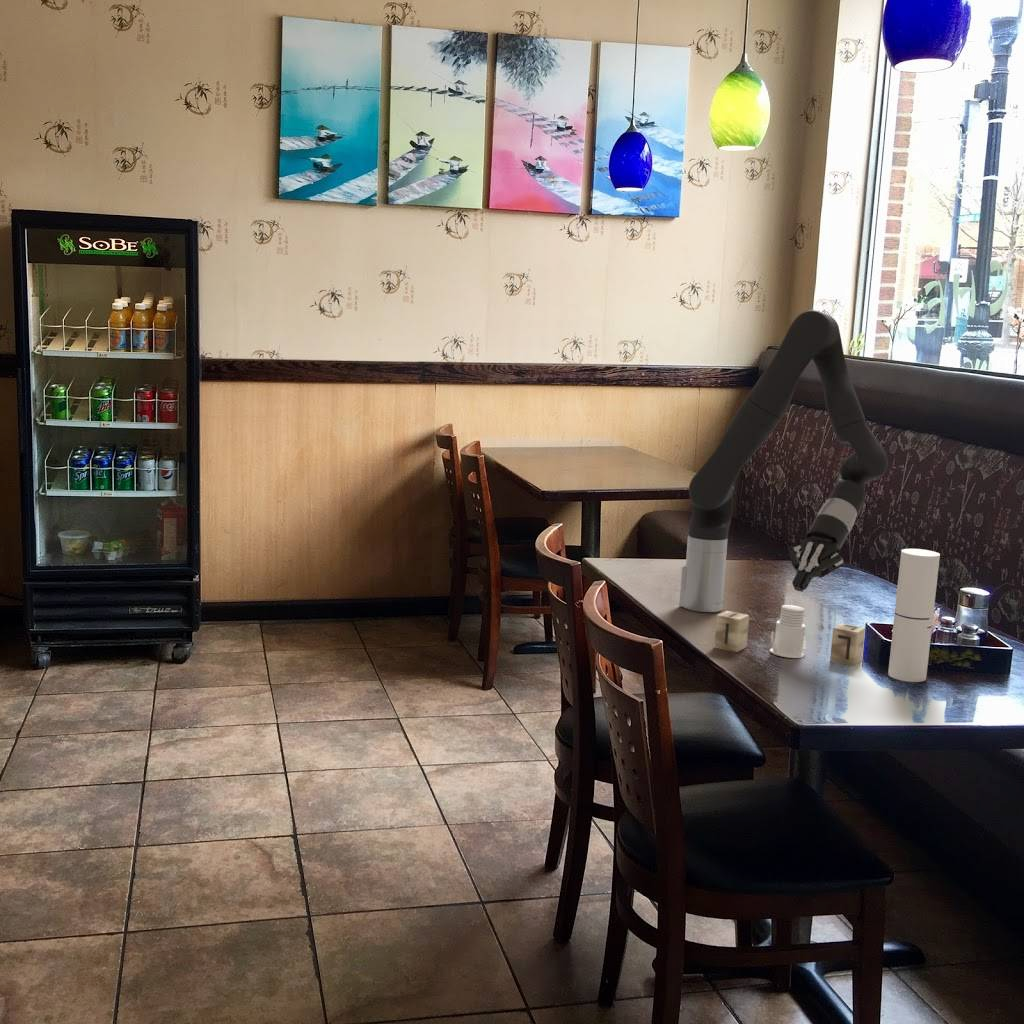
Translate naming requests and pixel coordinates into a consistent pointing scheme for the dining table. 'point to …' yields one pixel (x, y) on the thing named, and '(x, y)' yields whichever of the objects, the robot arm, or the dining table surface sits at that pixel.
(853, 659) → the birch block seven
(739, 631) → the birch block one
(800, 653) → the downlight
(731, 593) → the dining table surface
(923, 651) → the cylindrical container
